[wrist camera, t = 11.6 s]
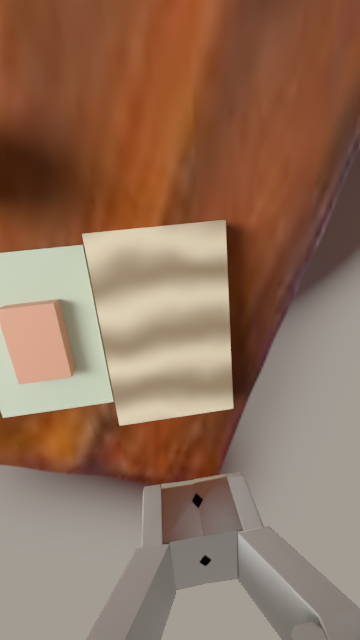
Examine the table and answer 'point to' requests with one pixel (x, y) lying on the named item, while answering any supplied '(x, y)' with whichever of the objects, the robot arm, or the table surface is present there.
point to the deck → (164, 318)
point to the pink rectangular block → (37, 341)
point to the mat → (81, 323)
